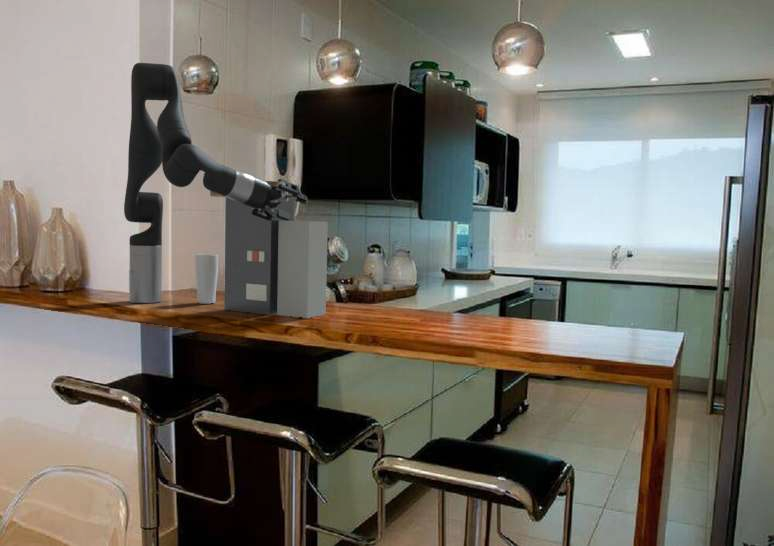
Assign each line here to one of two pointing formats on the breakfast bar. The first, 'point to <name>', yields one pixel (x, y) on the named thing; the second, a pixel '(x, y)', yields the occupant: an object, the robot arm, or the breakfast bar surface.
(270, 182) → the oak bar
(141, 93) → the robot arm
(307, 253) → the grey tall block
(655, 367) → the breakfast bar surface
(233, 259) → the switch cabinet
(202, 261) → the drinking glass
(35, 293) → the breakfast bar surface
